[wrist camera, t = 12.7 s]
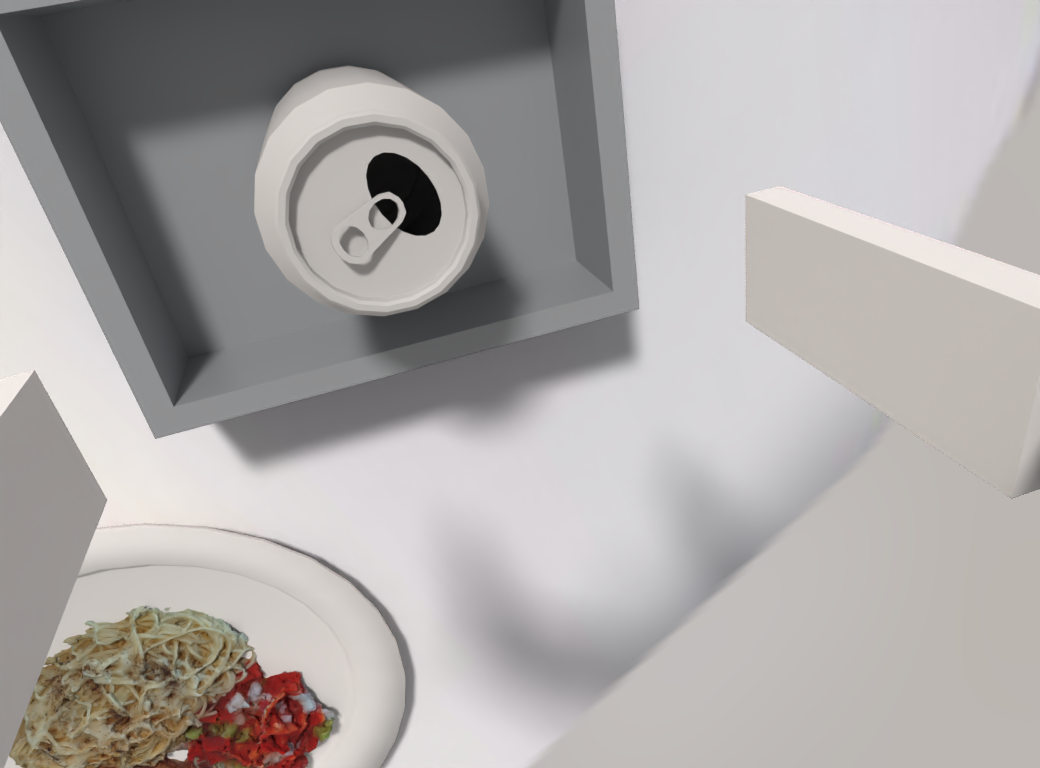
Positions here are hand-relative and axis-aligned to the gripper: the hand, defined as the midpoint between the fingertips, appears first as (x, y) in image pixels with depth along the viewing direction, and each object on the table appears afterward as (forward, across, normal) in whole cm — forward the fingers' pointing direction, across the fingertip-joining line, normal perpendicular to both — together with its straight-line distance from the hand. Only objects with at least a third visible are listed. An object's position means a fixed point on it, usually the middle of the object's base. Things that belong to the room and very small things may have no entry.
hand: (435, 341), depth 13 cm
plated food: (+23, -20, -30) cm, 43 cm away
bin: (+23, 0, 0) cm, 23 cm away
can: (+22, 0, 0) cm, 22 cm away
